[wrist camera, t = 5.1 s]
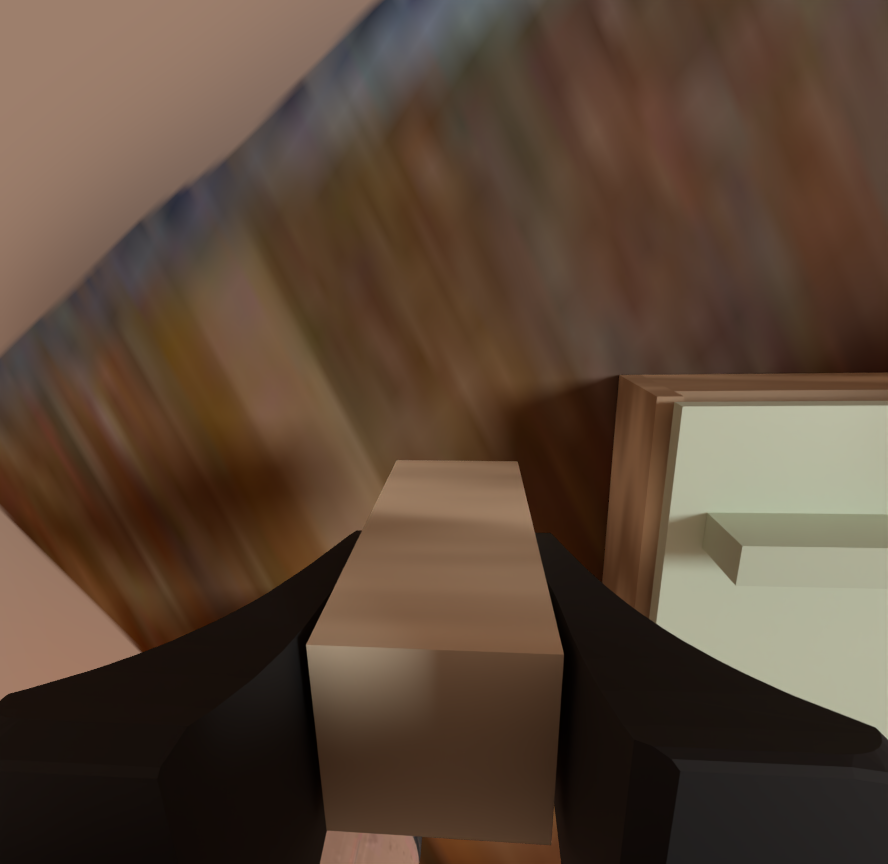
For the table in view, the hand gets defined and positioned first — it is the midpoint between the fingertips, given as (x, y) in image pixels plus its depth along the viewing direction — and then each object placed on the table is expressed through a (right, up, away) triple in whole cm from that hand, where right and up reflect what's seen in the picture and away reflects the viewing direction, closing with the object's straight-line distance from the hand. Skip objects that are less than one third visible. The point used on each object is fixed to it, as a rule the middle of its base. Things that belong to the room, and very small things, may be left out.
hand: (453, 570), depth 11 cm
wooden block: (0, +1, +2) cm, 2 cm away
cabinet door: (+11, -2, +5) cm, 12 cm away
